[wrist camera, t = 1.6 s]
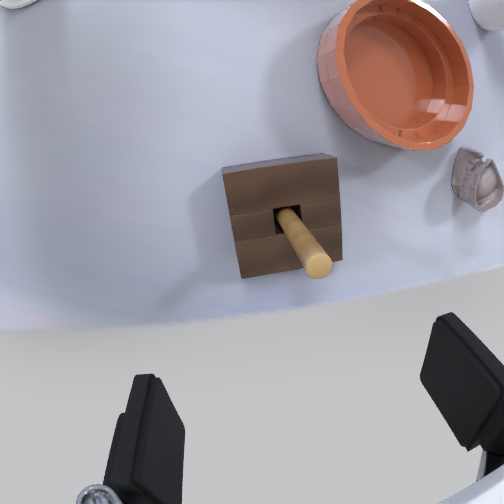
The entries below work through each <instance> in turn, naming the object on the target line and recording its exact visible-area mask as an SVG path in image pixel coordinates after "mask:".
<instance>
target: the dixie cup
mask: <svg viewBox="0 0 504 504" xmlns="http://www.w3.org/2000/svg"><path fill="white" fill-rule="evenodd" d="M469 9H470V12H471V14H472V16H473V18H474V19H475V21H476V22H477V23H478V25H479V26H481V27H482V28H483V29H485V30H492V31H504V0H469Z"/></svg>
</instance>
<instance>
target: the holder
mask: <svg viewBox="0 0 504 504" xmlns="http://www.w3.org/2000/svg"><path fill="white" fill-rule="evenodd" d="M222 173H223V180H224V186H225V191H226V197H227V202H228V208H229V214H230V219H231V225H232V230H233V236H234V241H235V247H236V252H237V257H238V263H239V268H240V273H241V278H242V279H243V278H249V277H255V276H260V275H266V274H271V273H277V272H282V271H288V270H293V269H298V268H304V266H303V264H302V263H301V261H300V259H299V257H298V256H297V254H296V252H295V250H294V248H293V247H292V245H291V243H290V241H289V240H288V238H287V236H286V234H285V233H284V231H283V229H282V227H281V226H280V224H279V222H278V221H274V214H273V209H274V208H281V207H287V206H292V207H293V211H294V212H295V214H296V215H297V216H298V217H299V219H300V220H301V221H302V222H303V224H304V225H305V226H306V227H307V229H308V230H309V231H310V233H311V234H312V235H313V236H314V238H315V239H316V240H317V242H318V243H319V244H320V245H321V247H322V248H323V249H324V251H325V252H326V253H327V254H328V256H329V257H330V258H331V260H332V262H335V261H340V260H343V259H342V228H341V208H340V199H339V198H340V192H339V178H338V166H337V158H336V157H333V156H330V155H327V154H324V153H321V154H312V155H304V156H296V157H288V158H281V159H273V160H266V161H260V162H253V163H247V164H241V165H235V166H229V167H223V168H222Z"/></svg>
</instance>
